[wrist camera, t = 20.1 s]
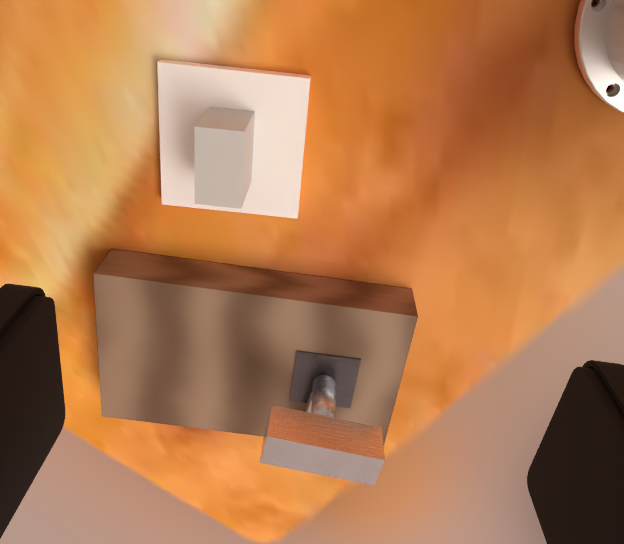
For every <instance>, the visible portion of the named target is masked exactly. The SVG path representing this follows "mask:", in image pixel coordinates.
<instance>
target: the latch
mask: <svg viewBox="0 0 624 544" xmlns="http://www.w3.org/2000/svg"><path fill="white" fill-rule="evenodd" d="M336 401H337V397H336V383H335V380H334V379H333V378H332V377H330V376H327V375H321V376H318V377H316V378H315V379H314V381H313V390H312V392H311V394H310V398H309V401H308V404H307V407H306V410H305V412H303V411H299V410H294V409H289V408H284V407H279V406H275V405H271V409H270V413H269V416H268V420H267V424H266V427H265V432H264V438H263V445H262V452H261V458H260V463H264V464H269V465H274V466H279V467H284V468H289V469H294V470H299V471H304V472H309V473H314V474H319V475H324V476H329V477H334V478H339V479H344V480H349V481H354V482H359V483H365V484H370V485H374V484H375V482H376V480H377V477H378V475H379V472H380V470H381V468H382V466H383V463H384V461H385V458H384V447H383V435H382V428H380V427H376V426H371V425H366V424H361V423H356V422H351V421H347V420H342V419H337V418H336Z"/></svg>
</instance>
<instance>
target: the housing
mask: <svg viewBox="0 0 624 544" xmlns="http://www.w3.org/2000/svg"><path fill="white" fill-rule="evenodd" d="M93 276H94V293H95V310H96V326H97V343H98V360H99V377H100V393H101V410H102V416H104V417H112V418H120V419H128V420H136V421H144V422H152V423H160V424H168V425H176V426H184V427H192V428H200V429H208V430H216V431H224V432H232V433H240V434H248V435H256V436H264V432H265V427H266V424H267V420H268V416H269V413H270V409H271V405H275V406H279V407H284V408H289V409H294V410H299V411H303V412H305V410H306V407H307V404H308V401H309V398H310V394H311V392H312V390H313V381H314V379H315V378H316V377H318V376H321V375H327V376H330V377H332V378H333V379H334V380H335V383H336V397H337V401H336V418H337V419H342V420H347V421H351V422H356V423H361V424H366V425H371V426H376V427H380V428H382V435H383V446H384V442H385V439H386V435H387V431H388V427H389V423H390V420H391V416H392V412H393V408H394V405H395V401H396V397H397V393H398V390H399V386H400V382H401V378H402V375H403V371H404V367H405V363H406V359H407V356H408V352H409V348H410V344H411V341H412V337H413V333H414V329H415V326H416V322H417V318H418V315H417V310H416V305H415V301H414V296H413V291H412V289H410V288H402V287H395V286H387V285H380V284H372V283H365V282H357V281H350V280H342V279H335V278H327V277H320V276H312V275H305V274H298V273H290V272H283V271H275V270H268V269H260V268H253V267H245V266H238V265H230V264H223V263H215V262H208V261H200V260H193V259H186V258H178V257H171V256H163V255H156V254H148V253H141V252H133V251H126V250H118V249H111V250H110V252H109V253H108V254H107V256H106V257H105V258H104V260H103V261H102V263H101V264H100V265H99V267H98V268H97V269H96V271H95V272H94V273H93Z"/></svg>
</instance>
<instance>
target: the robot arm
mask: <svg viewBox="0 0 624 544" xmlns="http://www.w3.org/2000/svg"><path fill="white" fill-rule="evenodd" d="M591 2H592V0H581V1H580V3H579V6H578V12H577V17H576V22H575V41H574V47H575V52H576V57H577V62H578V66H579V68H580V71H581V73H582V75H583V78H584V80H585V82H586V83H587V84H588V86H589V87H590V88H591V90H592V91H593V93H594V94H595V95H596V96H598V97H599V98H600V99H601V100H602V101H603V102H605V103H606V104H607V105H609V106H611V107H612V108H614V109H616V110H617V111H619V112H621V113H624V0H597V3H596V5H595V6H593V7H591ZM610 84H611V88H610V89H609V90H608V91H606V89H607V87H608V86H609V85H610ZM64 420H65V403H64V393H63V383H62V373H61V363H60V353H59V344H58V334H57V324H56V314H55V305H54V301H53V299H52V298H50V297H45V293H44V291H43V290H42V289H41V288H38V287H30V286H22V285H15V284H5V285H4V286H2V287H1V288H0V538H1V536H2V535H3V533H4V531H5V529H6V528H7V526H8V524H9V522H10V520H11V519H12V517H13V515H14V513H15V512H16V510H17V508H18V506H19V505H20V503H21V501H22V499H23V497H24V496H25V494H26V492H27V490H28V489H29V487H30V485H31V484H32V482H33V480H34V478H35V476H36V475H37V473H38V471H39V469H40V468H41V466H42V464H43V462H44V461H45V459H46V457H47V455H48V454H49V452H50V450H51V448H52V446H53V445H54V443H55V441H56V439H57V437H58V436H59V434H60V432H61V430H62V427H63V425H64ZM527 484H528V490H529V493H530V496H531V499H532V502H533V505H534V508H535V510H536V513H537V516H538V519H539V522H540V525H541V527H542V530H543V533H544V536H545V539H546V542H547V544H624V365H621V364H615V363H608V362H601V361H593V360H590V361H587V362H586V363H585V364H584V365H583V367H577V368H576V369H574V371H573V372H572V374H571V376H570V379H569V381H568V383H567V385H566V388H565V390H564V392H563V394H562V397H561V399H560V401H559V403H558V406H557V408H556V410H555V412H554V414H553V417H552V419H551V421H550V423H549V426H548V428H547V430H546V433H545V435H544V437H543V439H542V441H541V444H540V446H539V448H538V450H537V453H536V455H535V457H534V459H533V462H532V464H531V466H530V468H529V471H528V476H527Z"/></svg>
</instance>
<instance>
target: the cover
mask: <svg viewBox="0 0 624 544" xmlns="http://www.w3.org/2000/svg"><path fill="white" fill-rule="evenodd" d="M157 67H158V99H159V131H160V163H161V195H162V204H164V205H174V206H183V207H193V208H202V209H212V210H221V211H231V212H240V213H250V214H259V215H269V216H278V217H288V218H298V211H299V200H300V189H301V178H302V167H303V156H304V146H305V135H306V124H307V113H308V102H309V91H310V80H311V75H303V74H294V73H285V72H275V71H266V70H257V69H247V68H238V67H229V66H219V65H210V64H201V63H192V62H182V61H173V60H164V59H161V60H160V61H158V62H157Z"/></svg>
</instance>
